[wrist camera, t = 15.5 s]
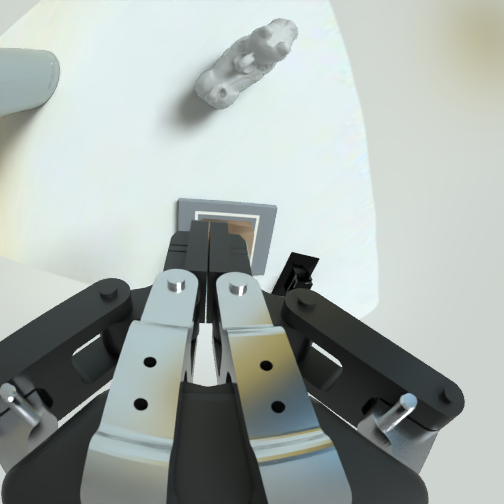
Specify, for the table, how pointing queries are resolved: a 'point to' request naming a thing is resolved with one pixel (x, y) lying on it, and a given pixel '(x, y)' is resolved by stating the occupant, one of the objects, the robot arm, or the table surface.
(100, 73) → the table surface
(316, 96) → the table surface
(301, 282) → the black stepped block
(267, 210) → the board
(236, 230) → the walnut block
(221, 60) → the dog figurine
